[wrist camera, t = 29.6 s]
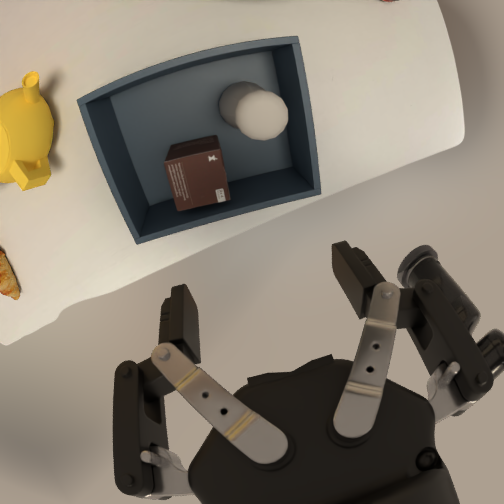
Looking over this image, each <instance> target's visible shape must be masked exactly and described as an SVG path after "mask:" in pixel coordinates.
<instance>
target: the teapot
mask: <svg viewBox="0 0 504 504" xmlns="http://www.w3.org/2000/svg"><path fill="white" fill-rule="evenodd" d="M22 86H23V88H18V89H14V90H11V91H9V92H7V93H5V94H3V95H2V96H1V97H0V183H14V182H17V184H18V185H19V186H20V188H21V189H22V191H25V190H28V189H32V188H35V187H38V186H42V185H45V184H46V182H47V181H48V179H49V178H50V176H51V171H50V167H49V162H48V157H47V155H48V153H49V150H50V147H51V143H52V138H53V127H54V119H53V118H52V116H51V112H50V109H49V107H48V105H47V103H46V101H45V100H44V98H43V97H42V96H41V95H40V94H39V74H38V73H37V72H34V71H33V72H29V73H27V74H26V75H25V76H24V78H23V80H22Z"/></svg>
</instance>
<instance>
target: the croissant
mask: <svg viewBox="0 0 504 504" xmlns="http://www.w3.org/2000/svg"><path fill="white" fill-rule="evenodd" d="M0 292H1V293H2V294H3V295H6V296H9V297H10V296H11V297H12V298H13V299H14V300H18V299H19V297H20V291H19V288H18V285H17V282H16V278H15V276H14V274H13V272H12V270H11V267H10V265H9V263H8V261H7V259H6V257H5V254H4V253H3V252H2V251H1V250H0Z"/></svg>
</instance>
